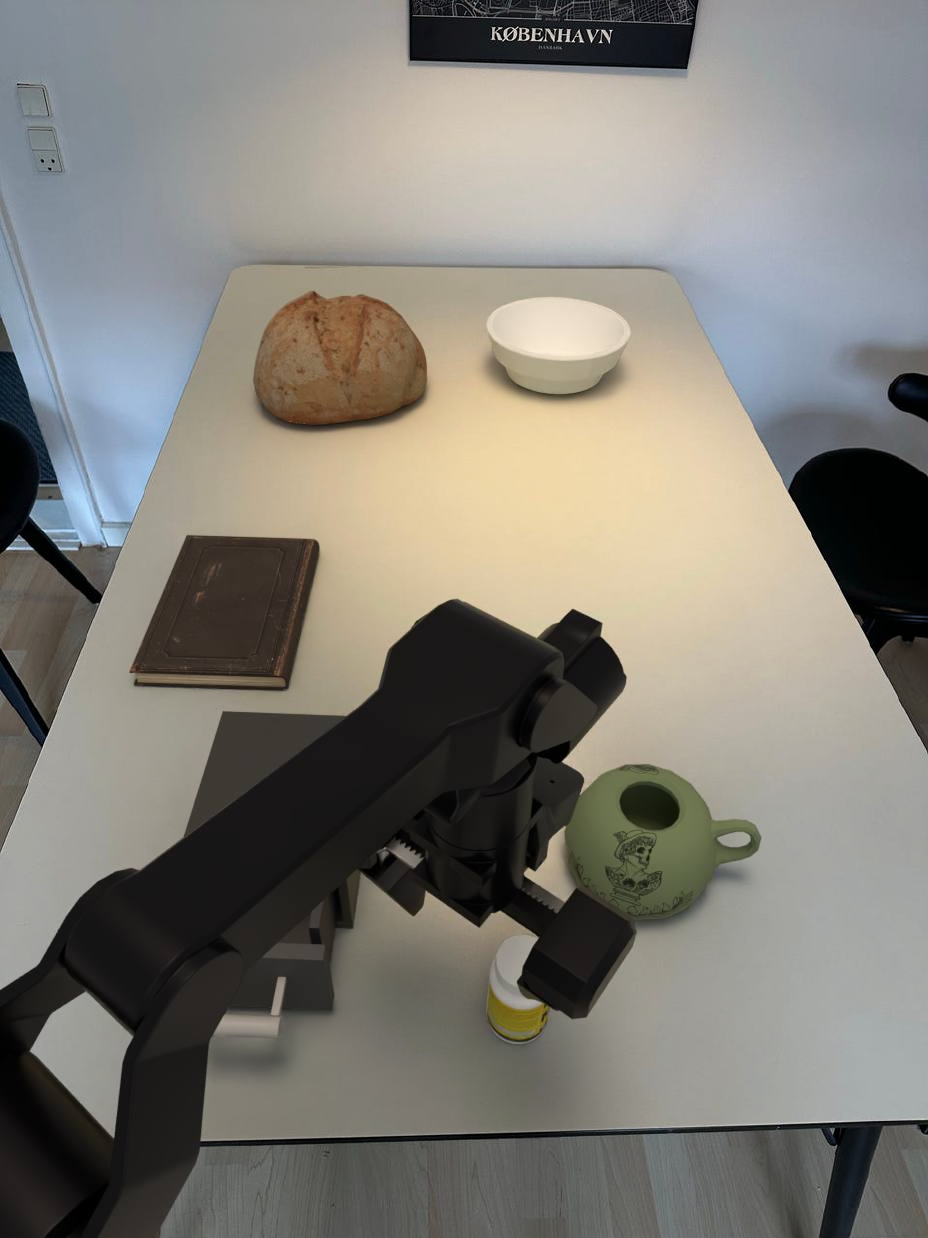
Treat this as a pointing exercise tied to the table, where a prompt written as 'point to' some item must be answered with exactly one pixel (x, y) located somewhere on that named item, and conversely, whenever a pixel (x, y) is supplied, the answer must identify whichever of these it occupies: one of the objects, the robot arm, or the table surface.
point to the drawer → (288, 976)
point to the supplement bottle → (513, 995)
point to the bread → (338, 360)
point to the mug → (648, 841)
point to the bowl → (557, 342)
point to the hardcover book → (229, 614)
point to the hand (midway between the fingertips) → (471, 949)
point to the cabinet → (261, 770)
